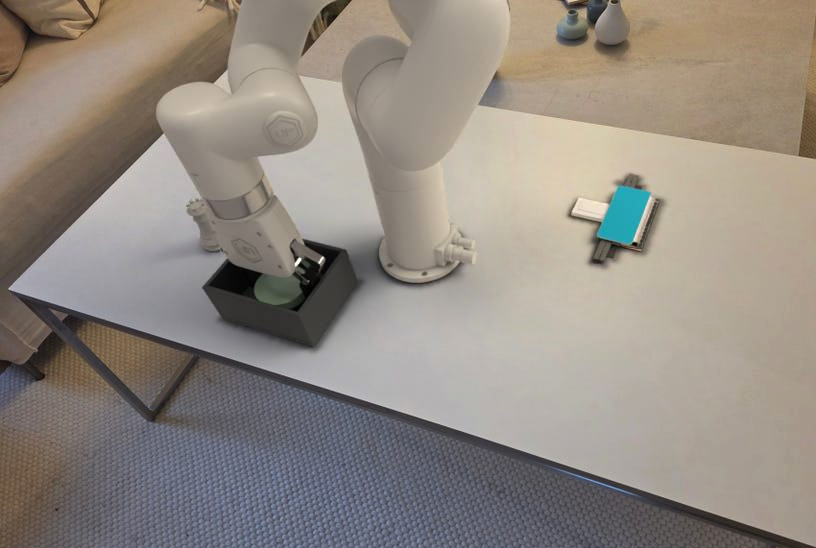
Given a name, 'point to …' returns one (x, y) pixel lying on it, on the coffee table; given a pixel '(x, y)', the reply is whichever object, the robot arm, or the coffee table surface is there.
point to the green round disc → (279, 290)
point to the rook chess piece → (202, 223)
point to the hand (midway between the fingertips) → (286, 287)
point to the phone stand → (620, 218)
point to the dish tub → (293, 324)
